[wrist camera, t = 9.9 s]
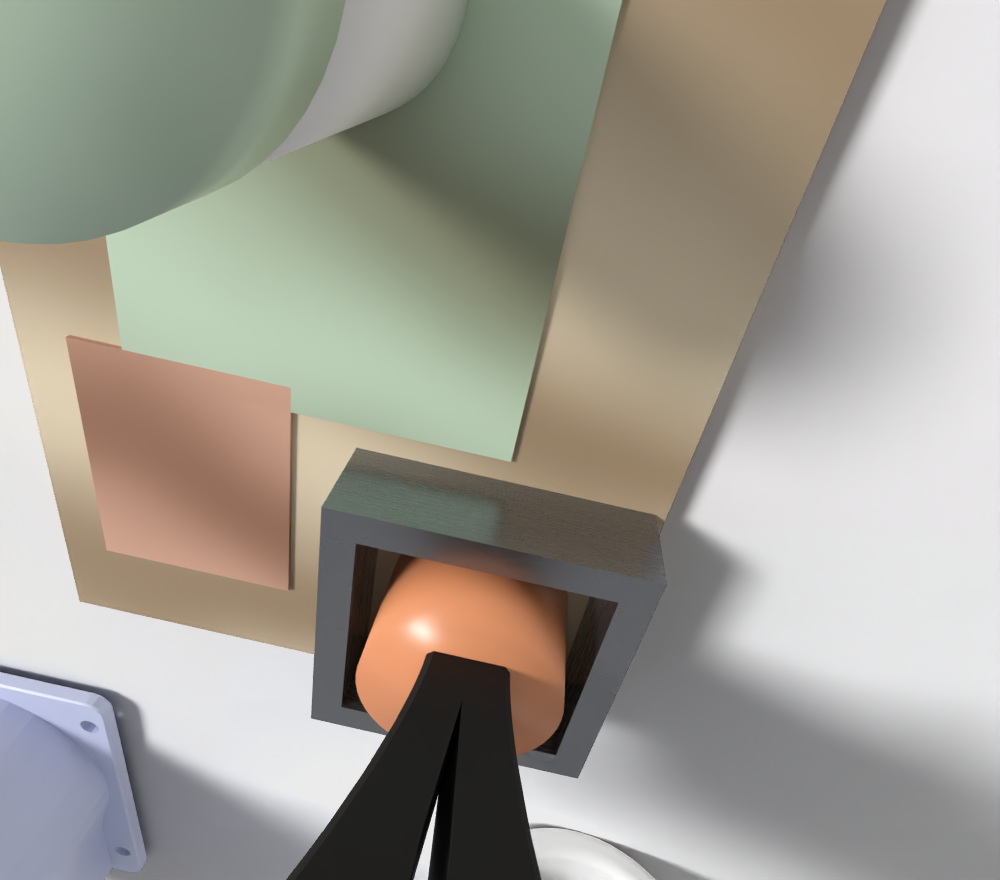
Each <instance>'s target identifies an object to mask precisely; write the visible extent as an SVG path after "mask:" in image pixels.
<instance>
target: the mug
mask: <svg viewBox="0 0 1000 880" xmlns="http://www.w3.org/2000/svg"><path fill="white" fill-rule="evenodd" d="M530 832H531V837H532V841H533V846H534V850H535V854H536V859H537V863H538V867H539V871H540V876H541V880H656V879H655V878H654V877H652V876H651V875H650V874H649V873H648V872H647V871H646V870H645V869H644V868H643V867H642V866H640V865H639V864H638V863H637V862H636V861H634V860H633V859H632V858H630V857H629V856H628V855H626V854H625V853H623V852H622V851H620V850H619V849H617V848H615V847H614V846H612V845H610V844H608V843H606V842H604V841H602V840H600V839H598V838H595V837H593V836H590V835H587V834H584V833H581V832H577V831H573V830H568V829H561V828H536V829H530Z"/></svg>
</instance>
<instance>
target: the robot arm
mask: <svg viewBox="0 0 1000 880" xmlns="http://www.w3.org/2000/svg"><path fill="white" fill-rule="evenodd" d="M438 793H439V794H438ZM437 797H438V802H437V811H436V819H435V827H434V835H433V843H432V851H431V859H430V867H429V876H428V880H541V876H540V871H539V867H538V863H537V859H536V854H535V850H534V846H533V841H532V837H531V832H530V827H529V823H528V818H527V813H526V807H525V802H524V796H523V791H522V785H521V780H520V774H519V768H518V762H517V755H516V748H515V740H514V731H513V723H512V712H511V696H510V672H509V671H508V670H507V668H506V667H504V666H499V665H495V664H490V663H486V662H481V661H477V660H472V659H468V658H463V657H459V656H455V655H450V654H446V653H441V652H437V651H433V652H430V653H427V654H426V657H425V660H424V663H423V665H422V668H421V670H420V672H419V675H418V677H417V679H416V682H415V684H414V686H413V688H412V690H411V692H410V694H409V696H408V698H407V700H406V702H405V704H404V705H403V707H402V709H401V711H400V713H399V715H398V716H397V718H396V720H395V722H394V724H393V725H392V727H391V729H390V730H389V732H388V734H387V735H386V737H385V739H384V740H383V742H382V744H381V745H380V747H379V748H378V750H377V752H376V753H375V755H374V757H373V758H372V760H371V762H370V763H369V765H368V766H367V768H366V770H365V771H364V773H363V774H362V776H361V777H360V779H359V780H358V782H357V783H356V784H355V786H354V787H353V789H352V790H351V792H350V793H349V795H348V796H347V798H346V799H345V800H344V802H343V803H342V805H341V806H340V808H339V809H338V811H337V812H336V814H335V815H334V816H333V818H332V819H331V821H330V822H329V824H328V825H327V826H326V828H325V829H324V831H323V832H322V833H321V835H320V836H319V837H318V839H317V840H316V841H315V843H314V844H313V846H312V847H311V848H310V849H309V851H308V852H307V853H306V855H305V856H304V857H303V859H302V860H301V861H300V863H299V864H298V865H297V867H296V868H295V869H294V870H293V872H292V873H291V874H290V876H289V877H288V878H287V879H286V880H413V879H414V876H415V872H416V869H417V865H418V862H419V858H420V855H421V852H422V848H423V845H424V841H425V838H426V835H427V831H428V828H429V824H430V821H431V817H432V814H433V811H434V807H435V804H436V800H437ZM146 860H147V856H146V852H145V847H144V843H143V838H142V834H141V830H140V825H139V821H138V816H137V812H136V807H135V803H134V799H133V794H132V790H131V785H130V781H129V777H128V772H127V768H126V763H125V759H124V754H123V750H122V746H121V741H120V737H119V732H118V728H117V724H116V719H115V715H114V710H113V707H112V705H111V703H110V702H109V701H108V700H107V699H106V698H104V697H103V696H101V695H98V694H95V693H91V692H87V691H83V690H78V689H74V688H69V687H65V686H60V685H56V684H52V683H47V682H43V681H38V680H34V679H29V678H25V677H21V676H16V675H12V674H7V673H3V672H0V880H105V879H106V877H107V875H108V874H109V872H110V870H111V868H112V869H117V870H121V871H126V872H132V873H135V872H138V871H140V870H141V869H142V868H143V866H144V864H145V862H146Z"/></svg>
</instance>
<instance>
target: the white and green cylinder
mask: <svg viewBox="0 0 1000 880" xmlns="http://www.w3.org/2000/svg"><path fill="white" fill-rule="evenodd" d="M467 3H468V0H0V241H6V242H12V243H25V244H62V243H70V242H79V241H87V240H92V239H96V238H99V237H103V236H106V235H110V234H113V233H117V232H120V231H124V230H126V229H128V228H131V227H133V226H135V225H138V224H140V223H142V222H145V221H147V220H149V219H152V218H154V217H156V216H159V215H161V214H163V213H166V212H168V211H170V210H173V209H175V208H177V207H180V206H182V205H184V204H187V203H189V202H191V201H194V200H196V199H198V198H201V197H203V196H205V195H208V194H210V193H212V192H214V191H216V190H219V189H221V188H223V187H225V186H227V185H229V184H231V183H233V182H235V181H237V180H239V179H240V178H242V177H243V176H244V175H246V174H247V173H249V172H250V171H251V170H253V169H254V168H256V167H257V166H259V165H260V164H262V163H265V162H267V161H270V160H272V159H275V158H277V157H279V156H282V155H284V154H287V153H289V152H292V151H294V150H297V149H299V148H302V147H304V146H307V145H309V144H312V143H314V142H317V141H319V140H322V139H324V138H327V137H329V136H332V135H334V134H336V133H339V132H341V131H344V130H346V129H349V128H351V127H354V126H356V125H359V124H361V123H364V122H366V121H369V120H371V119H374V118H376V117H379V116H381V115H384V114H386V113H389V112H391V111H393V110H395V109H397V108H399V107H401V106H403V105H405V104H406V103H408V102H409V101H410V100H412V99H413V98H415V97H416V96H417V95H419V94H420V93H421V92H422V91H423V90H424V89H425V88H426V87H427V86H428V85H429V84H430V83H431V82H432V81H433V79H434V78H435V77H436V76H437V75H438V73H439V72H440V71H441V69H442V68H443V66H444V64H445V63H446V61H447V59H448V58H449V56H450V55H451V52H452V50H453V48H454V46H455V44H456V41H457V39H458V37H459V34H460V31H461V27H462V24H463V21H464V18H465V13H466V8H467Z"/></svg>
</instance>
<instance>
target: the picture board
mask: <svg viewBox="0 0 1000 880" xmlns="http://www.w3.org/2000/svg"><path fill="white" fill-rule="evenodd" d="M885 2H886V0H468V3H467V8H466V13H465V18H464V21H463V24H462V27H461V31H460V34H459V37H458V39H457V41H456V44H455V46H454V48H453V50H452V52H451V55H450V56H449V58H448V59H447V61H446V63H445V64H444V66H443V68H442V69H441V71H440V72H439V73H438V75H437V76H436V77H435V78H434V79H433V81H432V82H431V83H430V84H429V85H428V86H427V87H426V88H425V89H424V90H423V91H422V92H421V93H420V94H419V95H417V96H416V97H415V98H413V99H412V100H410V101H409V102H408V103H406V104H405V105H403V106H401V107H399V108H397V109H395V110H393V111H391V112H389V113H386V114H384V115H381V116H379V117H376V118H374V119H371V120H369V121H366V122H364V123H361V124H359V125H356V126H354V127H351V128H349V129H346V130H344V131H341V132H339V133H336V134H334V135H332V136H329V137H327V138H324V139H322V140H319V141H317V142H314V143H312V144H309V145H307V146H304V147H302V148H299V149H297V150H294V151H292V152H289V153H287V154H284V155H282V156H279V157H277V158H275V159H272V160H270V161H267V162H265V163H262V164H260V165H259V166H257V167H256V168H254V169H253V170H251V171H250V172H249V173H247V174H246V175H244V176H243V177H242V178H240V179H239V180H237V181H235V182H233V183H231V184H229V185H227V186H225V187H223V188H221V189H219V190H216V191H214V192H212V193H210V194H208V195H205V196H203V197H201V198H198V199H196V200H194V201H191V202H189V203H187V204H184V205H182V206H180V207H177V208H175V209H173V210H170V211H168V212H166V213H163V214H161V215H159V216H156V217H154V218H152V219H149V220H147V221H145V222H142V223H140V224H138V225H135V226H133V227H131V228H128V229H126V230H124V231H120V232H117V233H113V234H110V235H106V236H103V237H99V238H96V239H92V240H87V241H79V242H70V243H62V244H25V243H12V242H6V241H0V267H1V271H2V275H3V280H4V284H5V288H6V292H7V296H8V301H9V305H10V309H11V313H12V317H13V322H14V326H15V330H16V334H17V339H18V343H19V347H20V351H21V355H22V360H23V364H24V368H25V372H26V376H27V381H28V385H29V389H30V393H31V398H32V402H33V406H34V410H35V414H36V419H37V423H38V427H39V431H40V435H41V440H42V444H43V448H44V452H45V457H46V461H47V465H48V469H49V473H50V478H51V482H52V486H53V490H54V495H55V499H56V503H57V507H58V511H59V516H60V520H61V524H62V528H63V532H64V537H65V541H66V545H67V549H68V554H69V558H70V562H71V566H72V570H73V575H74V579H75V583H76V587H77V591H78V596H79V600H80V601H81V602H85V603H90V604H94V605H99V606H103V607H107V608H112V609H116V610H121V611H125V612H130V613H134V614H138V615H143V616H147V617H152V618H156V619H161V620H165V621H170V622H174V623H178V624H183V625H187V626H192V627H196V628H201V629H205V630H209V631H214V632H218V633H223V634H227V635H232V636H236V637H240V638H245V639H249V640H254V641H258V642H263V643H267V644H272V645H276V646H280V647H285V648H289V649H294V650H298V651H303V652H307V653H311V654H314V650H315V629H316V609H317V588H318V567H319V546H320V525H321V507H322V505H323V503H324V502H325V500H326V498H327V497H328V495H329V493H330V492H331V490H332V488H333V487H334V485H335V483H336V481H337V480H338V478H339V476H340V475H341V473H342V471H343V470H344V468H345V466H346V465H347V463H348V461H349V460H350V458H351V456H352V454H353V453H354V451H355V449H356V448H361V449H365V450H370V451H374V452H379V453H383V454H388V455H392V456H396V457H401V458H405V459H410V460H414V461H419V462H423V463H428V464H432V465H436V466H441V467H445V468H450V469H454V470H459V471H463V472H467V473H472V474H476V475H481V476H485V477H490V478H494V479H499V480H503V481H507V482H512V483H516V484H521V485H525V486H530V487H534V488H539V489H543V490H547V491H552V492H556V493H561V494H565V495H570V496H574V497H579V498H583V499H587V500H592V501H596V502H601V503H605V504H610V505H614V506H618V507H623V508H627V509H632V510H636V511H641V512H645V513H650V514H654V515H656V519H657V526H658V532H659V534H660V531H661V529H662V527H663V524H664V522H665V520H666V517H667V515H668V513H669V510H670V508H671V506H672V503H673V501H674V499H675V496H676V494H677V491H678V489H679V487H680V484H681V482H682V480H683V477H684V475H685V473H686V470H687V468H688V466H689V463H690V461H691V459H692V456H693V454H694V452H695V449H696V447H697V444H698V442H699V440H700V437H701V435H702V433H703V430H704V428H705V426H706V423H707V421H708V419H709V416H710V414H711V412H712V409H713V407H714V404H715V402H716V400H717V397H718V395H719V393H720V390H721V388H722V386H723V383H724V381H725V379H726V376H727V374H728V372H729V369H730V367H731V365H732V362H733V360H734V357H735V355H736V353H737V350H738V348H739V346H740V343H741V341H742V339H743V336H744V334H745V332H746V329H747V327H748V325H749V322H750V320H751V317H752V315H753V313H754V310H755V308H756V306H757V303H758V301H759V299H760V296H761V294H762V292H763V289H764V287H765V285H766V282H767V280H768V278H769V275H770V273H771V270H772V268H773V266H774V263H775V261H776V259H777V256H778V254H779V252H780V249H781V247H782V245H783V242H784V240H785V238H786V235H787V233H788V230H789V228H790V226H791V223H792V221H793V219H794V216H795V214H796V212H797V209H798V207H799V205H800V202H801V200H802V198H803V195H804V193H805V191H806V188H807V186H808V183H809V181H810V179H811V176H812V174H813V172H814V169H815V167H816V165H817V162H818V160H819V158H820V155H821V153H822V151H823V148H824V146H825V143H826V141H827V139H828V136H829V134H830V132H831V129H832V127H833V125H834V122H835V120H836V118H837V115H838V113H839V111H840V108H841V106H842V103H843V101H844V99H845V96H846V94H847V92H848V89H849V87H850V85H851V82H852V80H853V78H854V75H855V73H856V71H857V68H858V66H859V64H860V61H861V59H862V56H863V54H864V52H865V49H866V47H867V45H868V42H869V40H870V38H871V35H872V33H873V31H874V28H875V26H876V24H877V21H878V19H879V16H880V14H881V12H882V9H883V7H884V5H885ZM401 555H402V554H400V553H396V552H391V551H387V550H382V549H378V553H377V561H376V570H375V579H374V588H373V596H372V605H371V614H370V623H369V632H368V637H369V634H370V632H371V629H372V626H373V624H374V621H375V618H376V616H377V613H378V610H379V608H380V605H381V603H382V600H383V597H384V595H385V592H386V589H387V587H388V584H389V581H390V579H391V576H392V573H393V571H394V568H395V566H396V563H397V561H398V559H399V558H400V556H401ZM567 597H568V607H567V637H566V661H567V658H568V655H569V653H570V650H571V647H572V644H573V642H574V639H575V636H576V634H577V631H578V628H579V626H580V623H581V620H582V618H583V615H584V612H585V610H586V607H587V604H588V602H589V599H590V596H587V595H582V594H578V593H573V592H569V591H567Z"/></svg>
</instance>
